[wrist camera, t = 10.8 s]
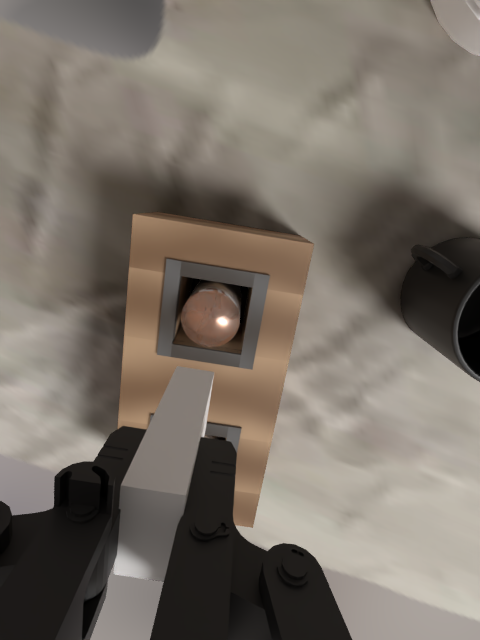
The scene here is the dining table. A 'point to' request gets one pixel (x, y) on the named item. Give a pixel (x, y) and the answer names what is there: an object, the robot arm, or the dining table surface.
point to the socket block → (226, 360)
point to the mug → (446, 300)
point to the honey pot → (460, 22)
